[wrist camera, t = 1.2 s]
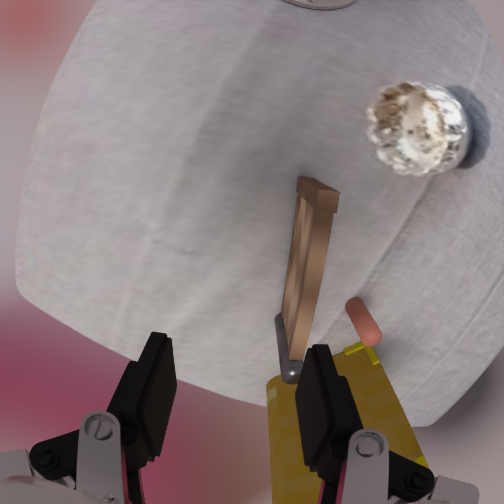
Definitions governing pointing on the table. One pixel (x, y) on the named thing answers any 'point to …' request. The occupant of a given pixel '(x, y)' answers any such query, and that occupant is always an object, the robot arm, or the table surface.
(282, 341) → the gate post
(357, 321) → the post
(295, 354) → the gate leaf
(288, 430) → the book
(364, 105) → the table surface
